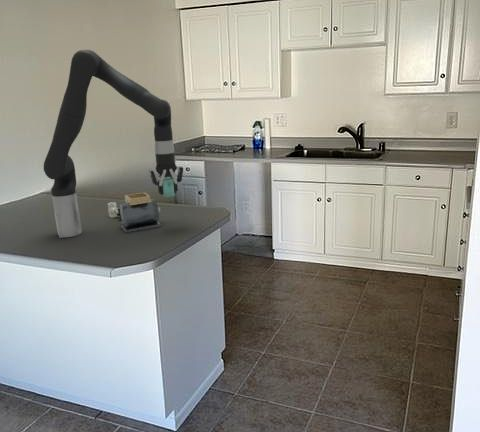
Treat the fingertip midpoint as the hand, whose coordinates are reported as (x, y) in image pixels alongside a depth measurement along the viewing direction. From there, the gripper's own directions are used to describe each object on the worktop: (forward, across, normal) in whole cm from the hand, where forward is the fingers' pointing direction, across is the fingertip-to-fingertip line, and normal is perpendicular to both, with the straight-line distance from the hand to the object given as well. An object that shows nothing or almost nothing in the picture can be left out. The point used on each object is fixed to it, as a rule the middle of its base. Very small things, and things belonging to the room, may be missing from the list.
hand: (168, 193), depth 192 cm
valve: (+16, -15, +32) cm, 39 cm away
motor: (+15, -10, +12) cm, 22 cm away
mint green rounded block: (+1, 0, 0) cm, 1 cm away
